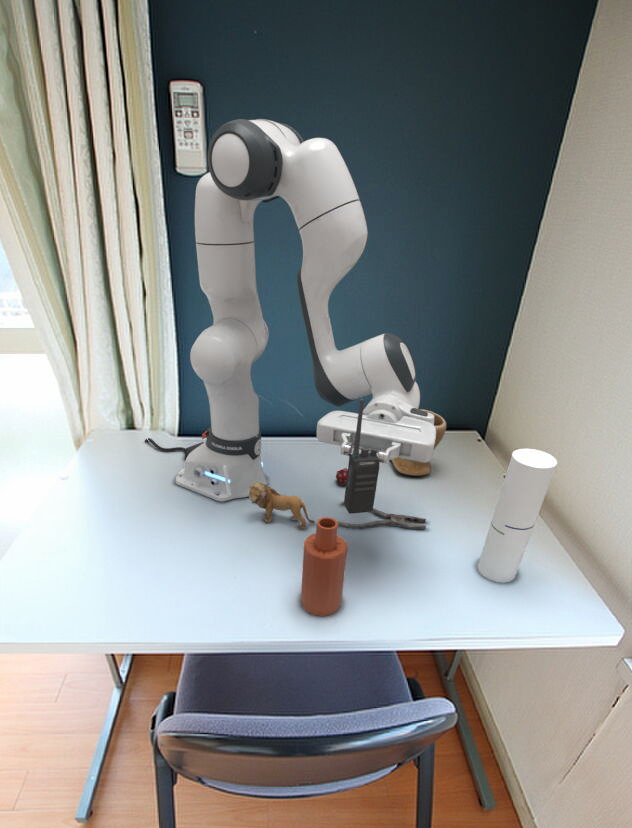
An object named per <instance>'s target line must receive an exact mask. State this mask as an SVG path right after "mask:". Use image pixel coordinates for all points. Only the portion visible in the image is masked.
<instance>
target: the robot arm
mask: <svg viewBox="0 0 632 828" xmlns="http://www.w3.org/2000/svg"><path fill="white" fill-rule="evenodd" d="M207 165H208V171H209V172H207V173H205V174H203V175H202V176H201V177H200V178H199V180H198V182H197V184H196V188H195V199H194V235H195V247H196V258H197V270H198V277H199V286H200V288H201V291H202V292H203V293H204V294H205V295H206V298H207V300H208V303H209V306H210V309H211V313H212V317H213V322H212V323H213V324H212V325H210V326H209V327H207V328H205V329H204V330H203V331H202V332H201V333H200V334H199V335H198V337H197V338H196V339H195V341H194V343H193V345H192V346H191V349H190V354H189V358H190V364H191V367H192V369H193V371H194V373H195V374H196V375H197V377H198V378H200V379H201V380H202V382H203V384H204V387H205V390H206V394H207V398H208V404H209V414H210V427H207V429H205V431H204V433H203V434H201V436H202V437H201V440H204V439H206V440H205V441H201V442H198V443H196V444H193V445H189V446H188V447H181V446H177V447H169V448H168V447H162V446H160V445H158V443H156V442H155V441H154V440H153V439H152V438H151V437H147V438H148V440H149V441H148V440H147V438H145V439H144V443H148V442H150V444H152V445H153V447H155V448H156V449H157V450H159V451H162V452H175V451H176V452H177V451H183V452H184V465H183V467H182V468H181V469H180V470H179V471H178V472H177V474H176V476H175V484H176V485H177V486H180V487H182V488H185V489H187V490H189V491H191V492H192V491H193V492H195V493H196V494H197V493H198V494H199V495H202V496H205V497H207V498H209V499H212V500H214V501H216V502H222V503H223V502H227V501H231V500H233V499H241V498H247V497H249V491H250V486H252V485H253V484H254V483H262V484H265V485H267V479H266V475H265V473H264V469H263V467H264V462H263V461H262V457H261V454H262V429H261V428H260V399H259V396H258V394H257V393H256V391H255V390H254V385H253V382H252V376H251V374H252V373H251V372H252V366H253V364H254V363H255V362H256V361H258V360H259V359H260V357H262V355H263V354H264V352H265V350H266V348H267V345H268V342H269V337H270V332H269V328H268V326H267V323H266V321H265V320H264V316H263V311H262V307H261V303H260V297H259V292H258V286H257V272H256V251H255V231H254V229H255V228H254V221H255V220H254V219H255V218H254V217H255V212H256V209H257V207H258V206H259V205H260V203H265V204H267V203H269V202H271V201H274V200H276V199H280V198H282V199H283V200H284V201H285V202H286V203H287V204H288V207H289V208H290V211H291V212H292V215H293V217H294V220H295V224H296V226H297V229H298V232H299V235H300V240H301V244H302V263H301V266H300V268H299V269H298V270H297V274H296V283H297V284H296V285H297V291H298V298H299V304H300V308H301V313H302V317H303V322H304V323H303V324H304V328H305V332H306V337H307V340H308V341H307V342H308V346H309V351H310V355H311V361H312V371H313V380H314V385H315V389H316V391H317V394H318V396H319V397H320V398H321V399H322V400H324V401H325V402H326V403H328V404H331V405H332V406H335V407H342V406H345V405H347V404H350V403H351V402H354V401H356V400H358V399H362V398H364V397H366V396H371V395H372V398H371V399H370V400H369V402H368V404H367V405H366V406H365V407H364V408H363V414H362V424H361V434H360V444H359V451H361V449H362V447H367V448H369V453H371V449H372V448H375V449H377V454H378V455H377V456H378V462H379V463H380V464H386V465H387V464H388V462H389V461H392V460H391V459H395V458H403V459H408V460H413V461H418V462H423V463H425V462H431V461H432V457H433V453H434V451H435V449H434V444H435V439H436V428H435V426H434V415H433V414H431V413H428V412H425V411H422V410H420V409H419V408H420V402H421V391H420V388H419V385H418V383H417V382H416V380H417V376H418V373H417V372H418V371H417V365H416V362H415V359H414V355H413V353H412V350H411V348H410V347H409V344H407V343H406V342H405V341H404V340H403V339H402V338H400V337H399V336H397V335H396V334H393V333H391V332H385V333H382V334H379V335H376V336H374V337H372V338H371V337H370V338H369V339H366V340H363V341H361V342H359V343H357V344H354V345H352V346H349V347H346V348H344V349H340V350H339V349H338V348H337V347H336V343H335V339H334V333H333V329H332V324H331V318H330V313H329V301H330V300H329V299H330V296H331V294H332V293H333V291H334V289H335V287H336V286H338V284H339V283H340V282H341V280H343V279H344V278H345V276H347V274H348V273H350V271H351V270H352V269H353V268H354V267H355V265H356V264H357V262H358V261H359V260H360V258H361V256H362V254H363V253H364V250H365V248H366V245H367V240H368V234H369V233H368V225H367V220H366V216H365V213H364V209H363V206H362V202H361V201H360V200H361V199H360V196H359V193H358V192H357V191H358V190H357V188H356V185H355V183H354V180H353V178H352V175H351V173H350V171H349V168H348V165H347V164H346V162H345V160H344V158H343V156H342V154H341V152H340V151H339V149H338V147H337V145H336V144H335V143H334V142H333V141H331V139H328V138H325V137H314V138H310V139H307V140H305V141H304V139H303V137H302V136H301V134H300V133H299V132H298V131H297V130H295V129H294V127H292V126H290V125H288V124H286V123H282V122H277V121H274V120H270V119H266V118H257V119H245V118H238V119H234V120H230V121H227V122H226V123H224V124H222V125H221V126H219V128H217V130H215V132H214V133H213V135H212V137H211V139H210V141H209V144H208V149H207ZM357 421H358V413H357V412H352V411H345V410H332V411H329V412H328V413H326V414H325V415H324V416H322V417H321V418H320V419H319V420H318V421H317V424H316V439H317V440H318V441H319V442H320V443H323V444H329V445H335V446H340V455H342V456H347V457H349V456H350V454H353V449H354V443H355V435H356V428H357ZM433 450H434V451H433Z"/></svg>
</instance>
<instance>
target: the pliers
mask: <svg viewBox="0 0 632 828" xmlns="http://www.w3.org/2000/svg"><path fill="white" fill-rule="evenodd" d="M340 504H341V505H342V506H345V505H344V501H341V502H340ZM371 513H374V514H376V515H378V516H380V517H383V518H385V519H381V520H375V521H370V522H365V523H350V522H349V523H347V522H344V521H338V520H336V521H337V522H338V526H342V527H347V528H356V529H357V528H369V527H375V526H383V525H386V526H387V525H388V526H394V527H399V528H404V529H405V528H406V529H416V530H426V528H427V525H426V524H422V523H426V521H427V519H426V518H423V517H418V516H413V515H407V514H406V515H405V514H396V513H387V512H384V511H382V510H379V509H378V508H377V509H376V508H374V507H373V511H372V512H371ZM407 521H408V522H407ZM415 522H416V523H415Z"/></svg>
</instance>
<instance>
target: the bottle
mask: <svg viewBox="0 0 632 828" xmlns="http://www.w3.org/2000/svg"><path fill="white" fill-rule="evenodd" d="M337 521H338V520H337V519H335V518H333V517H329V516H324V517H323V516H322V517H321V518H318V519H317V521H316V528H315V533H311V534H310V535H309V536H307V537H306V538H305V540H304V541H303V555H302V573H301V575H302V576H301V591H300V595H301V596H300V602H301V606H302V607H303V609H304V610H305V611H306V612H308V613H309V614H311V615H314V616H319V617H327V616H330V615H333V614H335V613H336V612H338V611H339V610H340V608H341V605H342V604H341V603H342V601H343V600H342V599H343V589H344V581H345V573H346V564H347V554H348V543H347V542H346V540H345V539H344V538H343V537H341V536H340V535H338V531H339V525H338V522H337Z"/></svg>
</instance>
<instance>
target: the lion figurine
mask: <svg viewBox="0 0 632 828" xmlns="http://www.w3.org/2000/svg"><path fill="white" fill-rule="evenodd" d="M248 497H249V501H250V502H251V504H253V505H254V504H255V505H256V506H258V508H259V509H264V510H265V516H266V518H265V519H264V521H265V523H266V524H268V523H270V522H271V521H272V519H273V518H272V517H273V516H272V515H273V511H274V510H276V511H282V512H285V511H290V512H291V514H292V516H291V519H292V520H293V521H296V520H297V521H299V522H300V523H301V524H299V526H298V527H299V529H300V530H305V528H306V527H307V523H306V520H307V522H308V523H310V524H315V520H312V519H310V518H309V514H308V510H307V507H306V505H305V503H304V502H303V500H302V499H301V498H300V497H298V496H296V495H285V494H279V493H278V492H277V490H276V489H274V488H272V487H271V486H268V484H266V485H265V484H262V483H254V484H253V485H252V486H250V491H249V496H248ZM301 509H302V510H303V513H304V516H305V518H304V517H303V515H302V512H301Z"/></svg>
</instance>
